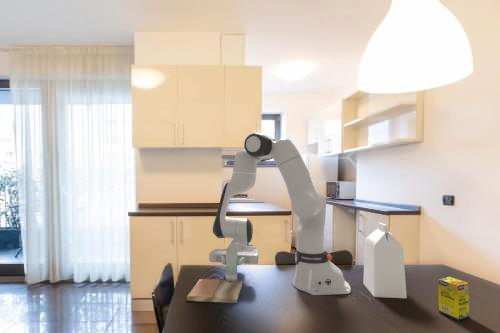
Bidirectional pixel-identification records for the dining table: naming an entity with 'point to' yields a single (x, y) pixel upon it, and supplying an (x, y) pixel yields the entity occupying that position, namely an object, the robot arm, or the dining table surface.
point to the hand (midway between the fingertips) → (231, 262)
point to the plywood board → (215, 291)
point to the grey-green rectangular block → (231, 265)
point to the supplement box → (453, 298)
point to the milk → (384, 264)
